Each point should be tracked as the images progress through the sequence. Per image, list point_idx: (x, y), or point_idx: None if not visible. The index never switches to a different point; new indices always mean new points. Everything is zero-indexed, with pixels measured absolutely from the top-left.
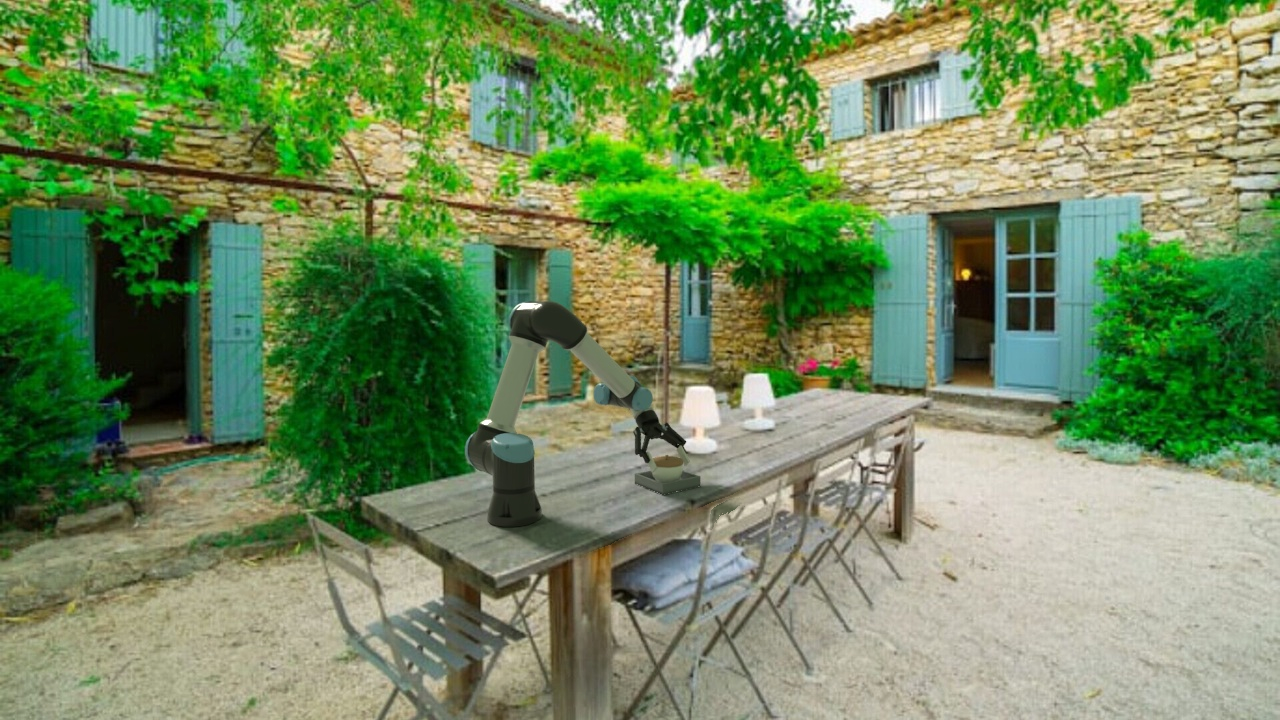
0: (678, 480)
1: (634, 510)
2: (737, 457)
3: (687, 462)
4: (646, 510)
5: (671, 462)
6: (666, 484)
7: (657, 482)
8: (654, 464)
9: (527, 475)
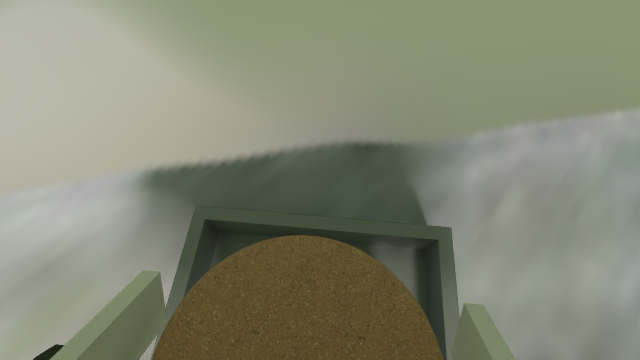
0: (335, 227)
1: (632, 179)
2: None
3: (160, 284)
4: (585, 153)
5: (331, 276)
6: (424, 226)
7: (454, 277)
8: (490, 332)
9: None
